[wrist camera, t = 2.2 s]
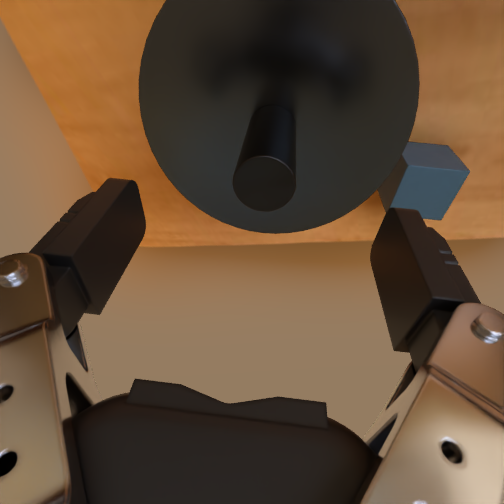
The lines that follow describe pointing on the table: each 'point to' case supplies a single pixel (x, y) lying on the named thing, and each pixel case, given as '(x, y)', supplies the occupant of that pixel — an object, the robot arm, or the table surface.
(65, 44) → the table surface
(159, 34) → the lid
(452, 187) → the block
